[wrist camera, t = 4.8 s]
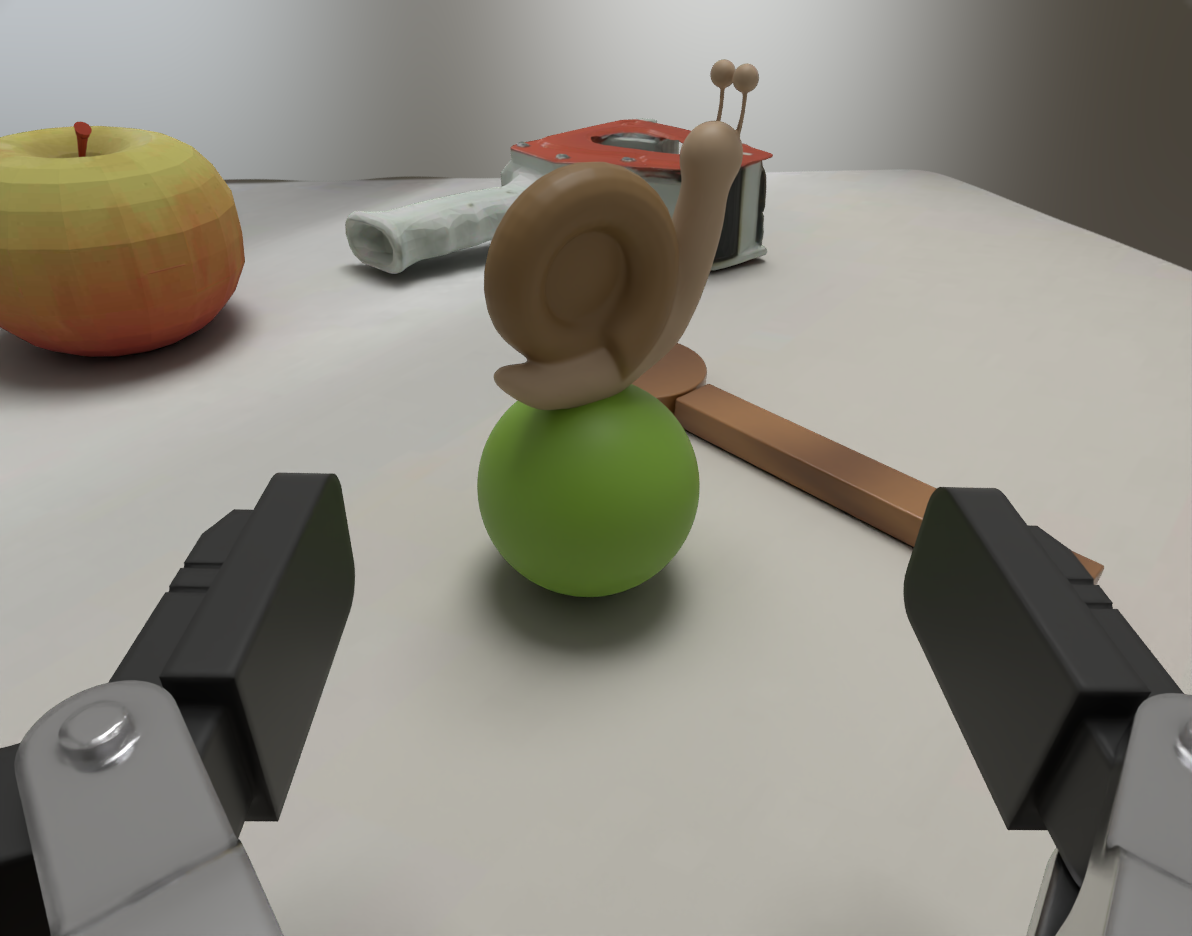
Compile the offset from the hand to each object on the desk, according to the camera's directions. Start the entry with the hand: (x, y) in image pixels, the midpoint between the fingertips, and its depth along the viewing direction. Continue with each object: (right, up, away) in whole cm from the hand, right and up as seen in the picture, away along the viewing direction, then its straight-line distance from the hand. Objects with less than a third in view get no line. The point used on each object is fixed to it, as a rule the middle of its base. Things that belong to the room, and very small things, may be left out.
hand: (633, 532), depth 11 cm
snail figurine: (0, -2, +11) cm, 11 cm away
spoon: (+5, +1, +15) cm, 16 cm away
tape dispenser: (-1, +13, +33) cm, 36 cm away
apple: (-19, +6, +22) cm, 30 cm away
